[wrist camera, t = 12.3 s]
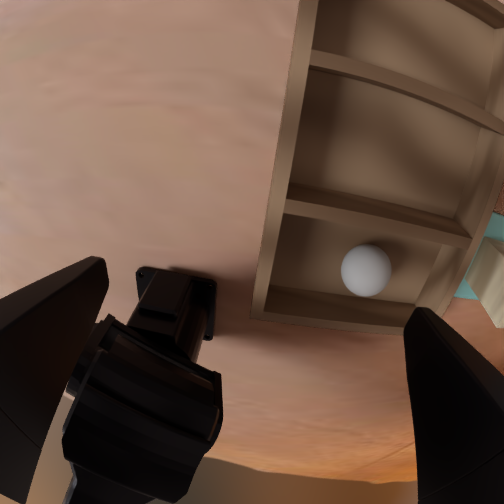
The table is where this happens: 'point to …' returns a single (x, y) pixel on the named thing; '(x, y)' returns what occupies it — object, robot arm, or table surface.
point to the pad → (496, 229)
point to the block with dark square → (489, 278)
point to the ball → (366, 270)
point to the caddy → (383, 158)
